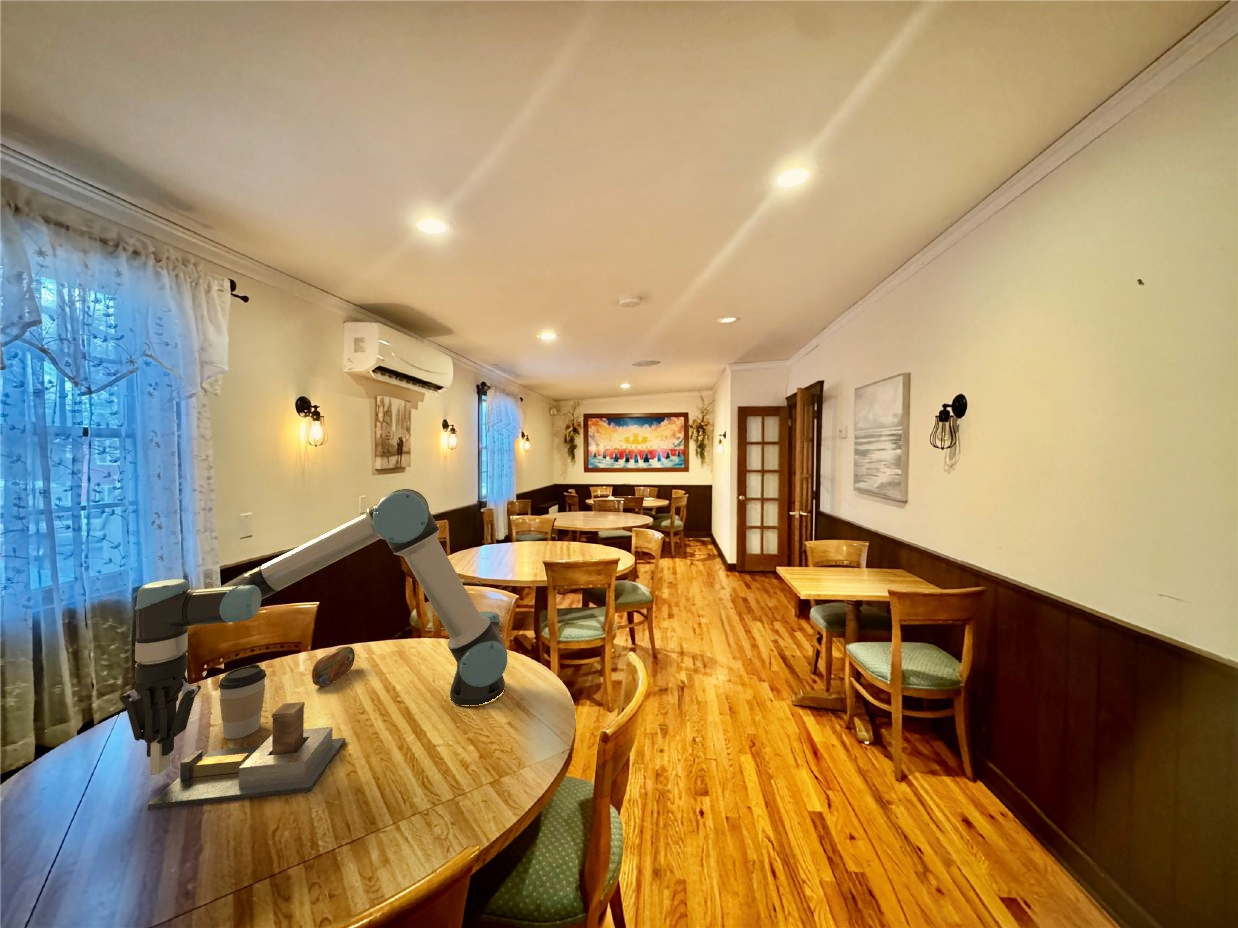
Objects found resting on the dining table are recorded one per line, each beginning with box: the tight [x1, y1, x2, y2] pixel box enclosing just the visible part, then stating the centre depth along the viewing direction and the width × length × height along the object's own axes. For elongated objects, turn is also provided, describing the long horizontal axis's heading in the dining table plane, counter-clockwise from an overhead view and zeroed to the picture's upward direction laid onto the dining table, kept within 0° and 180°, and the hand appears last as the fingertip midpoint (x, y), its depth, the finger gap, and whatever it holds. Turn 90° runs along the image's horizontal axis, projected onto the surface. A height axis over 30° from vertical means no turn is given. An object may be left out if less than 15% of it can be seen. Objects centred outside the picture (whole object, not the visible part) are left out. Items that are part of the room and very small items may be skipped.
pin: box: [179, 749, 248, 780], centre depth 92 cm, size 11×4×4 cm, turn 100°
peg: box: [271, 701, 305, 755], centre depth 95 cm, size 4×4×12 cm
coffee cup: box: [217, 663, 267, 740], centre depth 108 cm, size 9×9×15 cm
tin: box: [311, 646, 356, 687], centre depth 134 cm, size 15×3×8 cm, turn 174°
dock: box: [147, 726, 346, 810], centre depth 93 cm, size 28×16×5 cm, turn 100°
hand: (160, 770), depth 90 cm, fingers closed
